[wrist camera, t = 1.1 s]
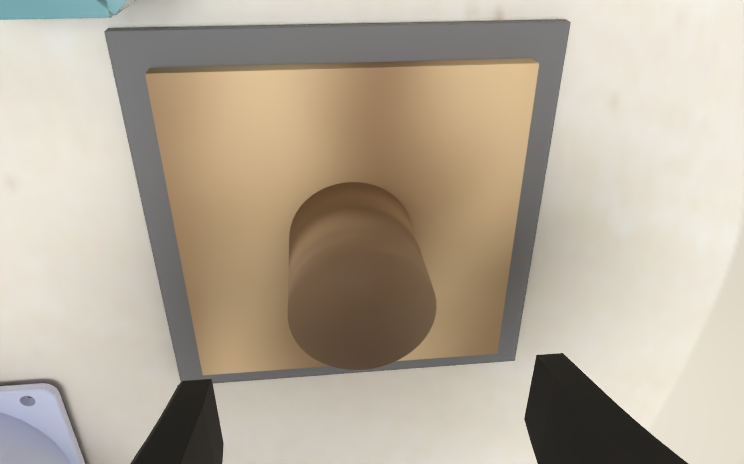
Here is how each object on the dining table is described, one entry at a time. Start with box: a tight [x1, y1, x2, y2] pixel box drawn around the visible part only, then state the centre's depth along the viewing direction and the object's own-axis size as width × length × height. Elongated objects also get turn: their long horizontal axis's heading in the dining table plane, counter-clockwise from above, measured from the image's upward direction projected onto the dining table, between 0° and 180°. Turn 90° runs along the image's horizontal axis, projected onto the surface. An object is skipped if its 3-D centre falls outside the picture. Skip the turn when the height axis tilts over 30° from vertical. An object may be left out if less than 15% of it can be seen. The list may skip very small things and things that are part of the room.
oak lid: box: [145, 58, 539, 375], centre depth 18 cm, size 11×11×5 cm
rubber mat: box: [104, 20, 571, 383], centre depth 20 cm, size 13×13×1 cm
